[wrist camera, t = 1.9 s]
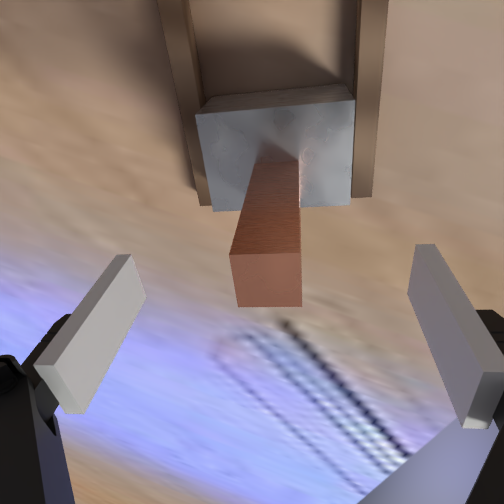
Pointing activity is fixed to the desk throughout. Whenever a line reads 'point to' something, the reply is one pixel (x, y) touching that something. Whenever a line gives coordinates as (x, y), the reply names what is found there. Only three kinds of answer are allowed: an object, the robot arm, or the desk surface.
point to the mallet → (275, 178)
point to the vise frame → (364, 89)
